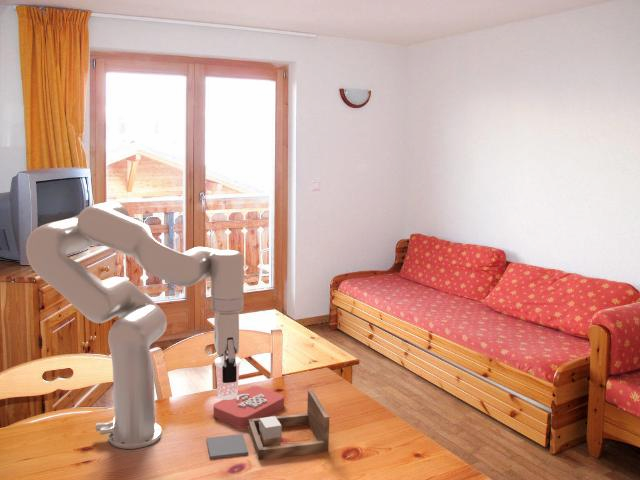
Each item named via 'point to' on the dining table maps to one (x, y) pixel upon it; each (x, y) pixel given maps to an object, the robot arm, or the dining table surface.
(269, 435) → the offcut top
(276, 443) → the block
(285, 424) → the rack
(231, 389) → the beverage cup
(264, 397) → the plaque
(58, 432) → the dining table surface
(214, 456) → the coaster
